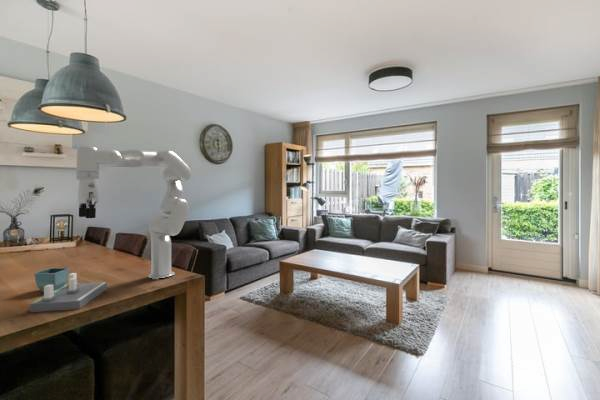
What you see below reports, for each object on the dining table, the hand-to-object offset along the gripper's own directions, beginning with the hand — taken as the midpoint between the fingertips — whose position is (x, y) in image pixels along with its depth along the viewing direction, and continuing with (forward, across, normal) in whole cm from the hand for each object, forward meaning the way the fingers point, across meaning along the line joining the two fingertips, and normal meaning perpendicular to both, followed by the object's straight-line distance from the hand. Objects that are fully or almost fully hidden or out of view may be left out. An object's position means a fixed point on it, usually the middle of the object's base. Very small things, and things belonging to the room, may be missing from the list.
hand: (86, 217), depth 118 cm
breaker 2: (+31, +12, +2) cm, 33 cm away
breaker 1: (+31, 0, +12) cm, 33 cm away
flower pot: (+34, +24, +6) cm, 42 cm away
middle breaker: (+31, +3, +3) cm, 31 cm away
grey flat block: (+34, +3, +3) cm, 34 cm away
